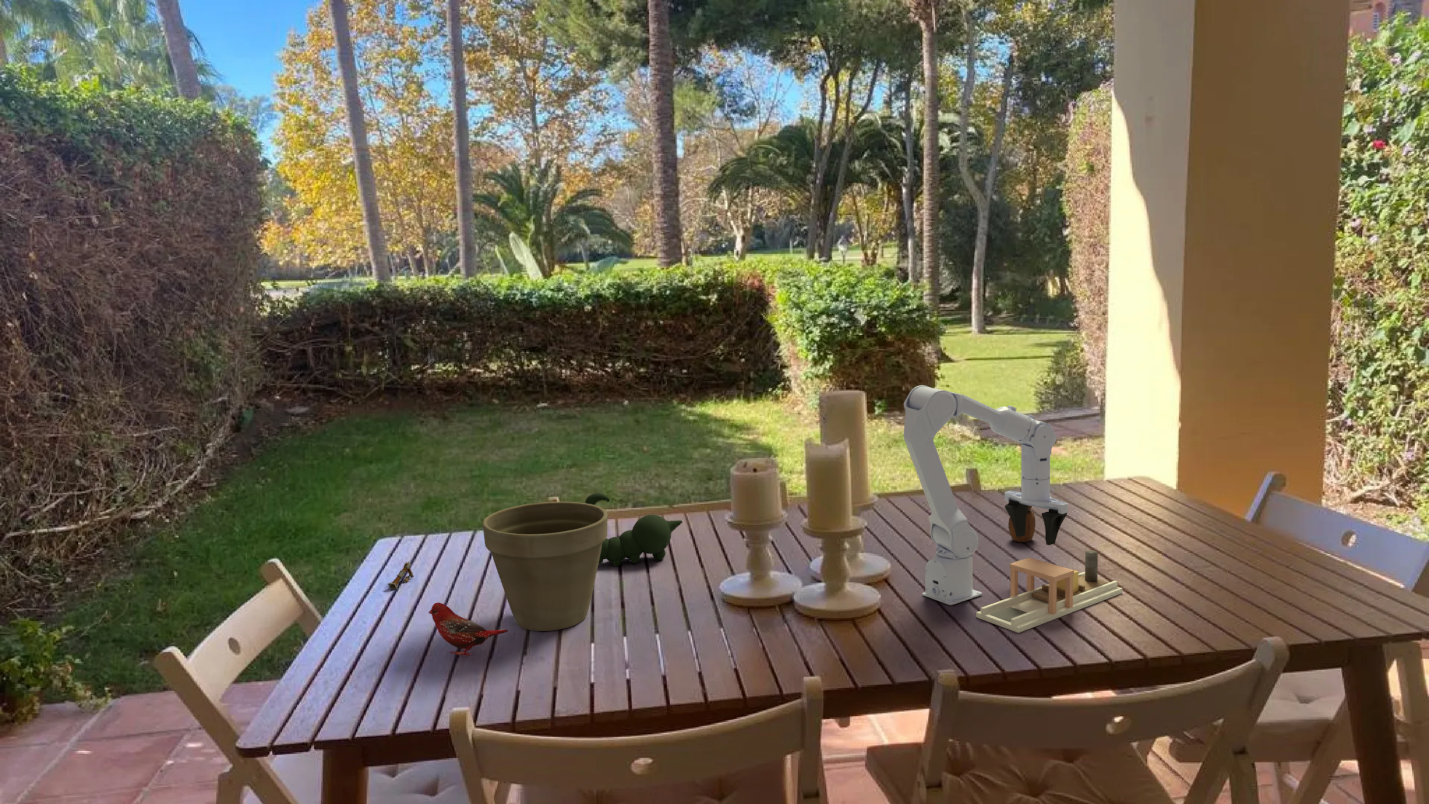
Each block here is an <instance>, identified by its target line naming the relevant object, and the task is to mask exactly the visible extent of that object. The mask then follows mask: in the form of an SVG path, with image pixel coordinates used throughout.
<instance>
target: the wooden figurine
mask: <svg viewBox="0 0 1429 804" xmlns="http://www.w3.org/2000/svg"><path fill="white" fill-rule="evenodd" d="M1032 507H1033V506H1029V507H1028V511H1027V516H1026V532H1025V536H1021V537H1016V533H1015V529H1014V526H1013V523H1012V520H1011V518H1010V517H1009V518H1008V522H1007V523H1008V530H1009V531H1008V532H1009V535H1010V537H1011V539H1012V540H1013V541H1015V542H1018V543H1027V542H1030V541H1032V539H1033V537H1034V536H1035V535H1034V534H1035V531H1036V516H1035V513H1034V512H1033V511H1032V509H1033V508H1032Z"/></svg>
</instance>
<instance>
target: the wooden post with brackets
mask: <svg viewBox="0 0 1429 804" xmlns="http://www.w3.org/2000/svg"><path fill="white" fill-rule="evenodd" d="M411 566H412V565H411V562H410V561H407V562H405V563H404V565H403V566H402V567H403V568H402V569H401V570H400V571H399V572H398V574H397V575H396V577H395V579H394V580H392V582H388V583H387V585H388V587H389V589H390V590H398V585H399V582H400V581H401V580H402V581H403V584H406V583H408V582H409V581H411V578H412V579H413V578H414V576H415V575H414V572H413V571H412V569H411ZM406 573H408V575H407V576H405V575H406ZM403 577H404V579H403Z"/></svg>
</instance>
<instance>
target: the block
mask: <svg viewBox="0 0 1429 804" xmlns="http://www.w3.org/2000/svg"><path fill="white" fill-rule="evenodd" d="M1063 567H1064V566H1063ZM1064 568H1066V567H1064ZM1070 569H1071V568H1070ZM1071 570H1074V575H1073V592H1076V591H1078V578H1079V571H1078V570H1075V569H1071ZM1057 589H1061V590H1064V591H1065V579H1062V580H1059V581H1057Z"/></svg>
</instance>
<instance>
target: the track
mask: <svg viewBox="0 0 1429 804" xmlns="http://www.w3.org/2000/svg"><path fill="white" fill-rule="evenodd" d="M1009 569H1010V570H1009V571H1010V572H1009V573H1010V576H1009V577H1010V594H1009V595H1010V597H1009V598H1005V599H1002V600H999V601H997V602H994V603H991V604H988V605H986V606H981V607H980V611H976V612H975V613H976V614H975V617H976V618H978V619H980V620H983V621H986V622H988V623H991V624H994V625H996V626H999V627H1001V628H1004V629H1006V630H1007V629H1008V630H1009V631H1012V632H1014V633H1018V634H1019V633H1022V632H1025V631H1028V630H1029V629H1032V628H1035V627H1038V626H1040V625H1042V624H1045V623H1048V622H1050V621H1053V620H1056V619H1058V618H1061V617H1064V616H1066V615H1068V614H1071V613H1073V612H1077V611H1079V610H1082V609H1085V608H1087V607H1089V606H1092V605H1095V604H1097V603H1099V602H1103V601H1105V600H1108V599H1110V598H1114V597H1116V596H1118V595H1121V594H1123V588H1122V587H1119V586H1118V584H1119V583H1118V582H1119V581H1117V580H1112V581H1110V582H1108V583H1107V584H1104V585H1102V586H1099V587H1096V588H1093V589H1091V590H1088V591H1085V592H1083V593H1080V594H1077V595H1074V596H1073V575H1074V570H1075V569H1072V570H1071V568H1068V567H1065V568H1064V566H1060V565H1057V564H1053V563H1050V562H1047V561H1043V560H1040V559H1036V558H1032V557H1027V558H1024V559H1020V560H1017V561H1014V562H1011V563H1009ZM1019 572H1020V573H1023V574H1026V591H1025V592H1023V593H1019V575H1018V574H1019ZM1082 575H1085V571H1083V572H1080V573H1079V577H1080V576H1082ZM1035 577H1037V578H1039V579H1042V580H1045V581H1048V584H1047V585H1048V586H1049V603H1048V602H1045V601H1042V600H1039V599H1036V598H1033V597H1032V593H1034V592H1037V591H1040V590H1042V586H1040V587H1036V588H1035ZM1062 579H1065V599H1064V600H1061V601H1058V602H1056V601H1057V581H1059V580H1062Z"/></svg>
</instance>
